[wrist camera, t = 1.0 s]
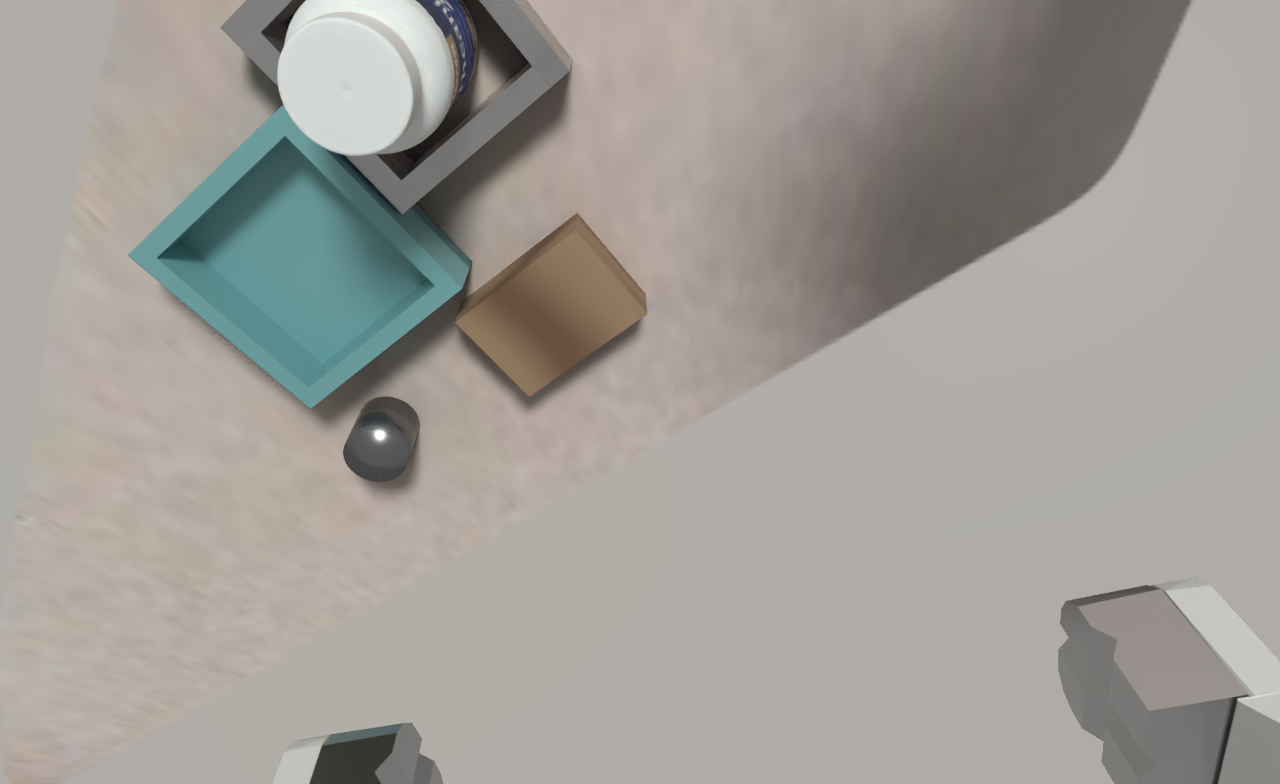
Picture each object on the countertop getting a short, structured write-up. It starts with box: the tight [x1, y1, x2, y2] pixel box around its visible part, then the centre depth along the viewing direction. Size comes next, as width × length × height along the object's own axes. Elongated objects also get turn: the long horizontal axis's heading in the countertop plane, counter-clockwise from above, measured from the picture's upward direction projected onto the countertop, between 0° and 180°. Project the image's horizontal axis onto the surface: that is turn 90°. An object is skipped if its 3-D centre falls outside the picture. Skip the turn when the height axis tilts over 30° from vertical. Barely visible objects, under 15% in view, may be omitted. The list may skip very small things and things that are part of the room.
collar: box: [220, 0, 572, 214], centre depth 32 cm, size 9×9×2 cm
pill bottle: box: [277, 0, 478, 156], centre depth 29 cm, size 5×5×10 cm
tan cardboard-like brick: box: [455, 213, 647, 397], centre depth 38 cm, size 7×5×2 cm
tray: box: [128, 105, 472, 409], centre depth 36 cm, size 10×10×3 cm
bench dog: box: [343, 397, 420, 482], centre depth 41 cm, size 3×3×3 cm
